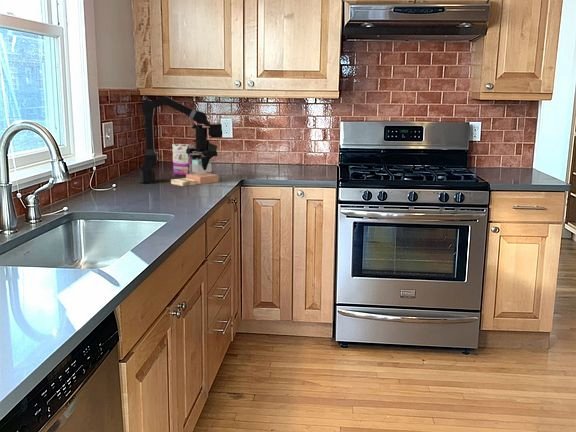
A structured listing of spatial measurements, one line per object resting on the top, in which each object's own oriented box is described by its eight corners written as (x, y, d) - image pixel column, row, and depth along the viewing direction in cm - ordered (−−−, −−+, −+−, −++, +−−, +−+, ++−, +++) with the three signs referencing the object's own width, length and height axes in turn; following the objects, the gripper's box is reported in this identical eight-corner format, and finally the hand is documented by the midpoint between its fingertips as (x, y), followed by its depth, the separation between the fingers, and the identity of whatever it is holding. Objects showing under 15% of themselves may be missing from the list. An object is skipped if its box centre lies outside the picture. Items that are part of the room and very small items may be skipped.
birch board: (182, 186, 269) (182, 182, 269) (171, 183, 276) (170, 179, 276) (196, 184, 275) (196, 180, 274) (184, 181, 282) (184, 177, 281)
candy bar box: (195, 175, 304) (194, 144, 300) (189, 176, 300) (188, 145, 296) (178, 173, 309) (177, 143, 306) (172, 174, 305) (171, 144, 301)
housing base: (211, 171, 283) (211, 163, 282) (198, 173, 277) (198, 165, 276) (205, 170, 286) (205, 162, 285) (192, 172, 281) (192, 164, 280)
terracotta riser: (200, 184, 275) (200, 177, 274) (186, 181, 283) (186, 174, 283) (218, 181, 282) (218, 175, 282) (204, 179, 291) (204, 172, 290)
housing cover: (211, 163, 282) (211, 158, 281) (198, 165, 276) (197, 159, 276) (205, 162, 285) (205, 157, 285) (192, 164, 280) (192, 158, 279)
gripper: (226, 138, 277) (226, 170, 280) (203, 135, 290) (204, 166, 293) (207, 139, 269) (208, 172, 273) (185, 136, 283) (185, 168, 286)
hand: (201, 169), depth 281 cm, fingers closed on housing base, 5 cm apart
